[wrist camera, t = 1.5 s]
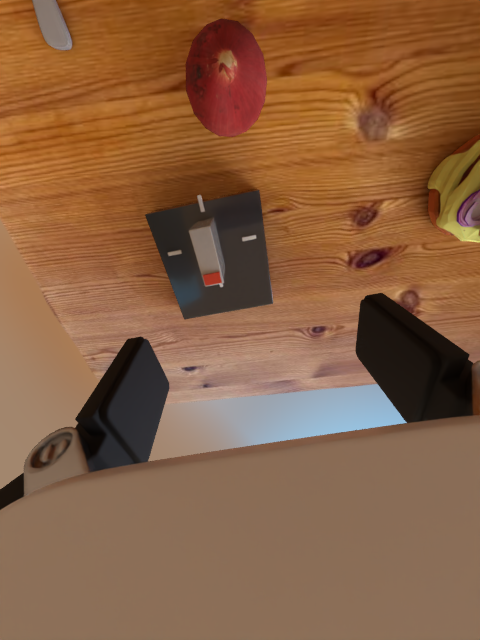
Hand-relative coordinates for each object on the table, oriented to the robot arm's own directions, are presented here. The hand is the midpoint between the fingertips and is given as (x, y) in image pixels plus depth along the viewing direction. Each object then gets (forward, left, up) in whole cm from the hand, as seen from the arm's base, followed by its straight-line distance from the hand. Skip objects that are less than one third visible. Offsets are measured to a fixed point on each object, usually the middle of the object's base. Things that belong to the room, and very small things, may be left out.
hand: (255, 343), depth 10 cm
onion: (-12, +1, -19) cm, 23 cm away
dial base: (+1, -3, -19) cm, 19 cm away
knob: (-1, -3, -16) cm, 16 cm away
